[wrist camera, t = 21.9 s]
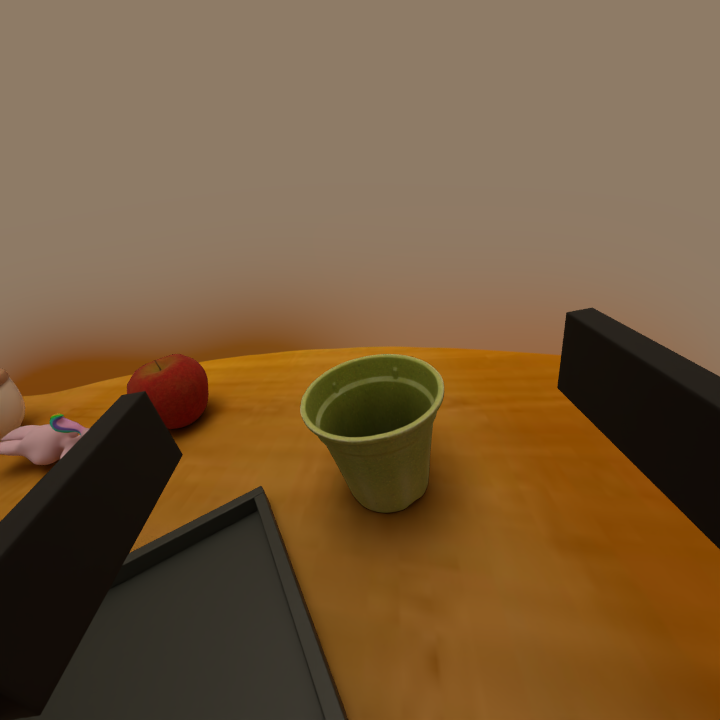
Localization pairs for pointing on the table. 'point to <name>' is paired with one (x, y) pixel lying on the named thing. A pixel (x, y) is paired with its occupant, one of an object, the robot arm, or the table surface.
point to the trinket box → (10, 405)
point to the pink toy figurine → (43, 440)
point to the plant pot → (377, 425)
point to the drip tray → (202, 631)
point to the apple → (173, 388)
